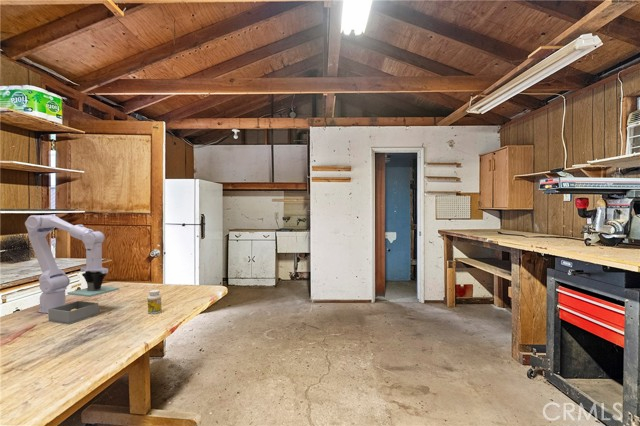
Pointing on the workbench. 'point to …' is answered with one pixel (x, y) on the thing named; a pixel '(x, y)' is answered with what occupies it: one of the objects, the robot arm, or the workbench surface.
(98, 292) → the teal lid
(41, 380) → the workbench surface
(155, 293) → the supplement bottle
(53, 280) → the robot arm
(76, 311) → the grey bin
